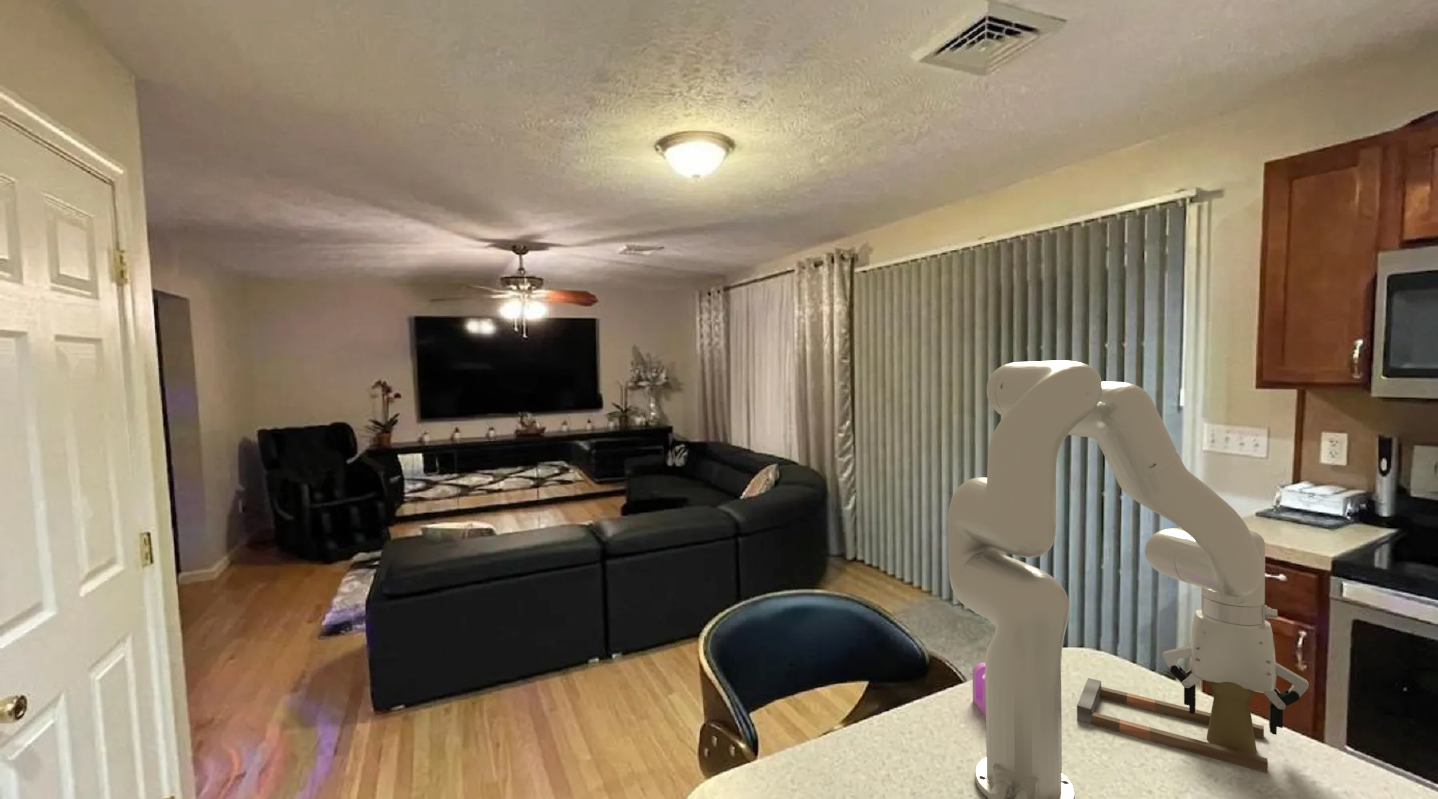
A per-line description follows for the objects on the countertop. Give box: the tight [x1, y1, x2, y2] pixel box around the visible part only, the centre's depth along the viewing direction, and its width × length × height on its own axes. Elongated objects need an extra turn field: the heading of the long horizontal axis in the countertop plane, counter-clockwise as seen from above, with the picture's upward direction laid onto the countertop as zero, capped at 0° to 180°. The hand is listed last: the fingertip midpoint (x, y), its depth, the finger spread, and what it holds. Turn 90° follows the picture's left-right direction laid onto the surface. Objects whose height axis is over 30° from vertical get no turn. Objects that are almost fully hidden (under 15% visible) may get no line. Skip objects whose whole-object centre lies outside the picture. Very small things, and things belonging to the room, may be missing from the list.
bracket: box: [972, 662, 986, 718], centre depth 110 cm, size 13×6×7 cm, turn 91°
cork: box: [1206, 681, 1257, 755], centre depth 98 cm, size 6×6×11 cm
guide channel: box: [1076, 677, 1269, 773], centre depth 103 cm, size 11×24×2 cm, turn 52°
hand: (1231, 719), depth 98 cm, fingers open, 9 cm apart
